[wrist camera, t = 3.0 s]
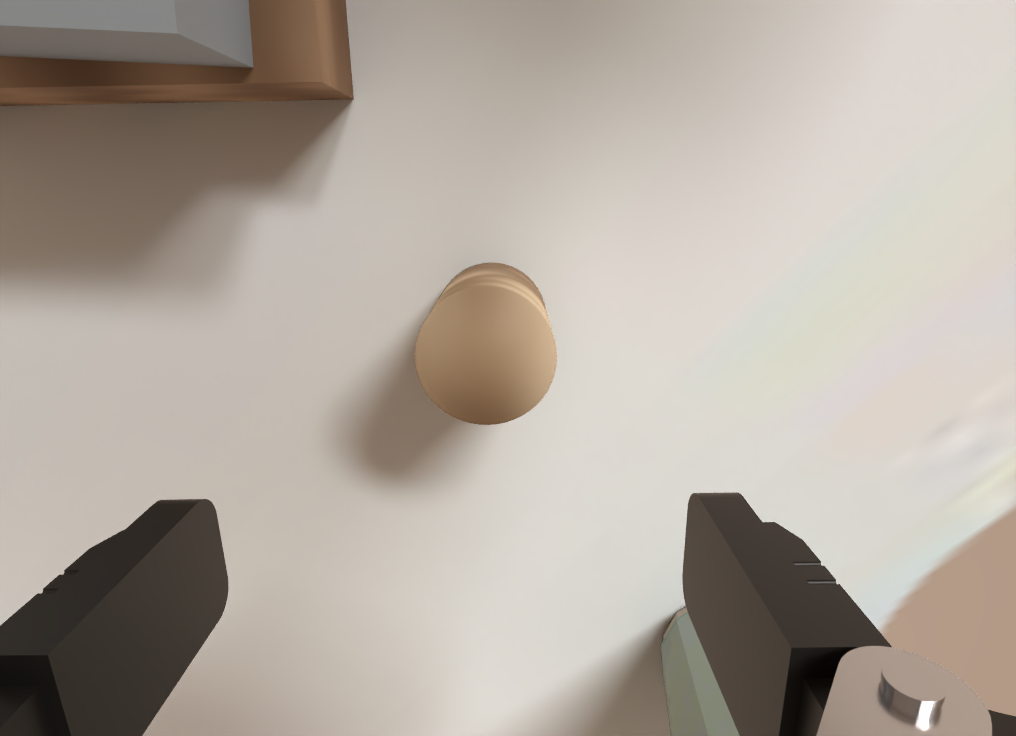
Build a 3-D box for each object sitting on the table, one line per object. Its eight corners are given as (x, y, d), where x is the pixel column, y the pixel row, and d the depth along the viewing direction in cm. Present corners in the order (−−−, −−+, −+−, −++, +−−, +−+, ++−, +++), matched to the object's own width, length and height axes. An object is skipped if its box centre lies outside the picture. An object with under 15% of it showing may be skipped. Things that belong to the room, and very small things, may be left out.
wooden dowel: (545, 261, 27) (557, 286, 20) (545, 367, 29) (556, 423, 22) (435, 263, 27) (410, 289, 21) (440, 369, 29) (419, 425, 22)
